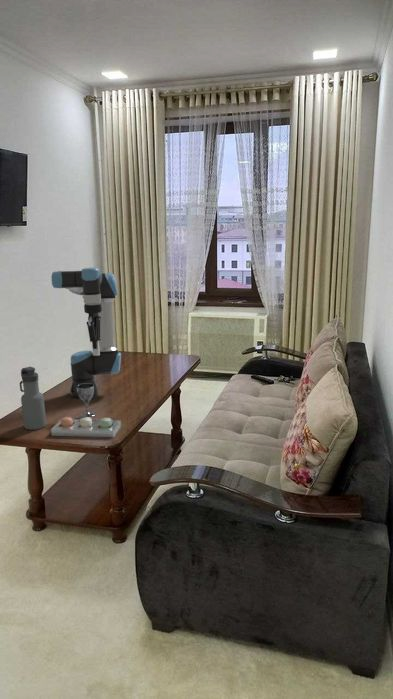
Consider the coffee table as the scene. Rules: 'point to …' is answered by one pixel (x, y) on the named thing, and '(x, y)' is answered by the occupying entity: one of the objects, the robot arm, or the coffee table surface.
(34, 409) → the water bottle
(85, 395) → the wine glass
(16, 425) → the coffee table surface
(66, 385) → the coffee table surface
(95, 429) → the panel
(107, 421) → the pale green rounded egg
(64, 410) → the coffee table surface
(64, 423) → the brown egg
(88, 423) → the white egg
